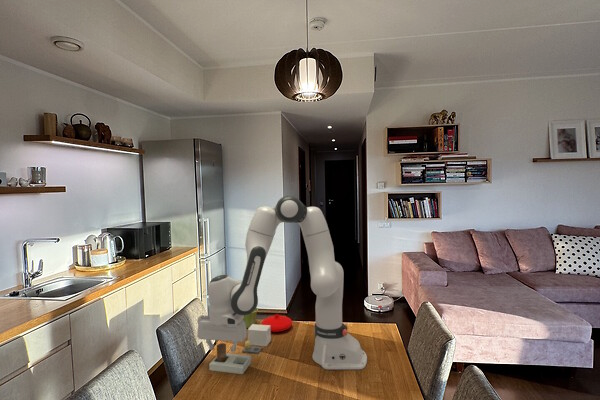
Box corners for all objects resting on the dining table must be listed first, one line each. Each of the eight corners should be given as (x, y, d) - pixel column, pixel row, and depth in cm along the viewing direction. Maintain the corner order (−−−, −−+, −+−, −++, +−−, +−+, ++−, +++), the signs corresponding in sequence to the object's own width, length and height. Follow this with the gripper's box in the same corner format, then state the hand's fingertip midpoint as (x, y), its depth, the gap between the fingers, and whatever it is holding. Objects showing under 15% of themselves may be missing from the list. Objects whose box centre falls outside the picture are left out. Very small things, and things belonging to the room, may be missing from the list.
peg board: (251, 361, 132) (251, 355, 132) (242, 374, 123) (242, 367, 123) (220, 358, 135) (220, 352, 135) (209, 370, 126) (209, 364, 126)
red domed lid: (255, 332, 159) (255, 318, 159) (270, 320, 174) (270, 307, 174) (284, 337, 153) (283, 323, 153) (297, 324, 168) (297, 311, 167)
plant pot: (251, 320, 174) (250, 304, 173) (262, 325, 167) (261, 309, 167) (236, 326, 167) (236, 309, 167) (247, 331, 160) (246, 314, 160)
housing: (270, 340, 151) (270, 325, 150) (266, 346, 145) (266, 331, 145) (252, 338, 153) (252, 324, 152) (248, 344, 147) (247, 329, 147)
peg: (227, 362, 132) (227, 343, 131) (223, 367, 128) (223, 348, 128) (219, 362, 132) (219, 342, 132) (215, 366, 129) (215, 347, 129)
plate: (261, 349, 142) (261, 340, 142) (258, 354, 138) (258, 345, 138) (246, 347, 144) (246, 339, 144) (242, 352, 140) (242, 343, 140)
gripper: (193, 318, 128) (195, 352, 129) (241, 320, 124) (243, 355, 124) (201, 312, 134) (203, 344, 135) (247, 314, 130) (248, 347, 130)
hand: (222, 350), depth 130 cm, fingers open, 8 cm apart
